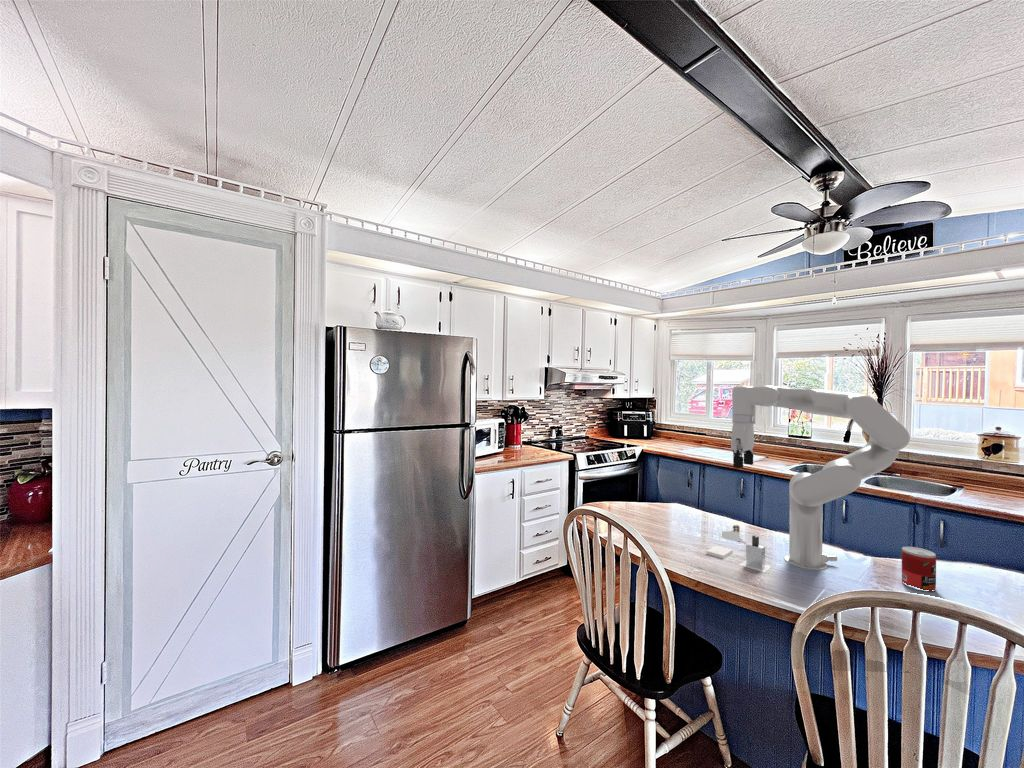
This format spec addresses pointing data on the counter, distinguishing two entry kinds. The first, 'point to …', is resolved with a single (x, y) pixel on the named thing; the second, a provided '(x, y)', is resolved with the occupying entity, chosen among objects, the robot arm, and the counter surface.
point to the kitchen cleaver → (733, 535)
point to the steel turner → (755, 553)
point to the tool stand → (755, 567)
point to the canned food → (919, 568)
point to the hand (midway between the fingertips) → (743, 465)
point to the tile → (719, 552)
